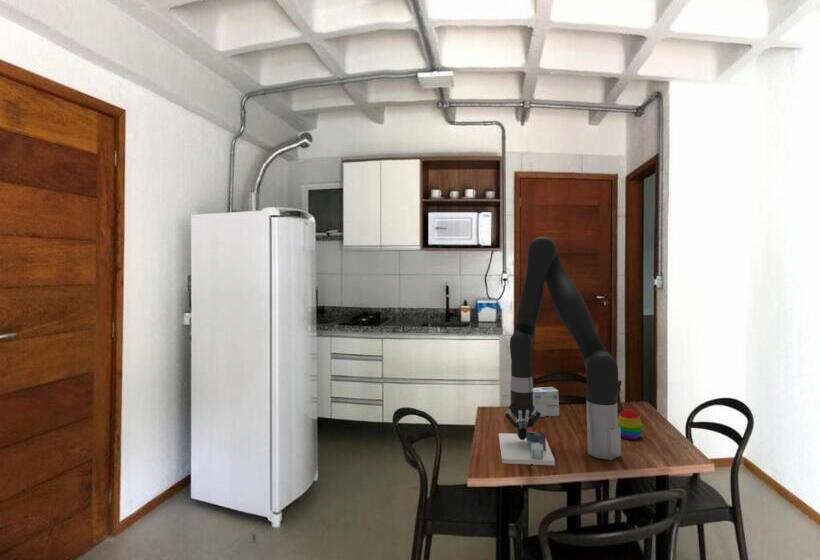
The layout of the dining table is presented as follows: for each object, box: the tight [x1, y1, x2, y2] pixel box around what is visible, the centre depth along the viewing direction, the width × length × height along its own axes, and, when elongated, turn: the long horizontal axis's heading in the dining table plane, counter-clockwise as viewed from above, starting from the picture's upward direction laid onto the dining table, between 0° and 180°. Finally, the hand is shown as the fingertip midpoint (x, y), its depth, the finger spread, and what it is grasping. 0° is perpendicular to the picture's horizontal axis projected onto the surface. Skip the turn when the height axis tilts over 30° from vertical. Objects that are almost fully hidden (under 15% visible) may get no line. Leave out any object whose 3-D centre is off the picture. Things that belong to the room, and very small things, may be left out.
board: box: [498, 432, 556, 466], centre depth 147 cm, size 22×16×2 cm
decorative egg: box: [618, 408, 643, 441], centre depth 156 cm, size 8×8×10 cm
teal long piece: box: [527, 431, 543, 459], centre depth 144 cm, size 16×4×4 cm, turn 172°
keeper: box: [526, 431, 547, 451], centre depth 144 cm, size 3×6×5 cm, turn 81°
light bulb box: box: [533, 386, 560, 418], centre depth 183 cm, size 11×7×11 cm, turn 94°
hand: (522, 438), depth 150 cm, fingers closed
